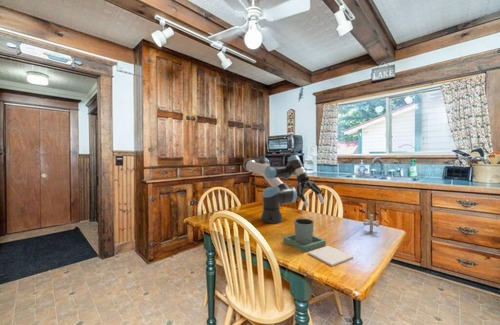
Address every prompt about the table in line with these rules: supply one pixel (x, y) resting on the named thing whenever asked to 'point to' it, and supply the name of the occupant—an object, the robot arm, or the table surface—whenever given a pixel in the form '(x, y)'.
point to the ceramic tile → (330, 255)
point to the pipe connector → (371, 222)
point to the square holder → (317, 244)
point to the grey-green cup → (303, 231)
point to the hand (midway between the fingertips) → (315, 204)
